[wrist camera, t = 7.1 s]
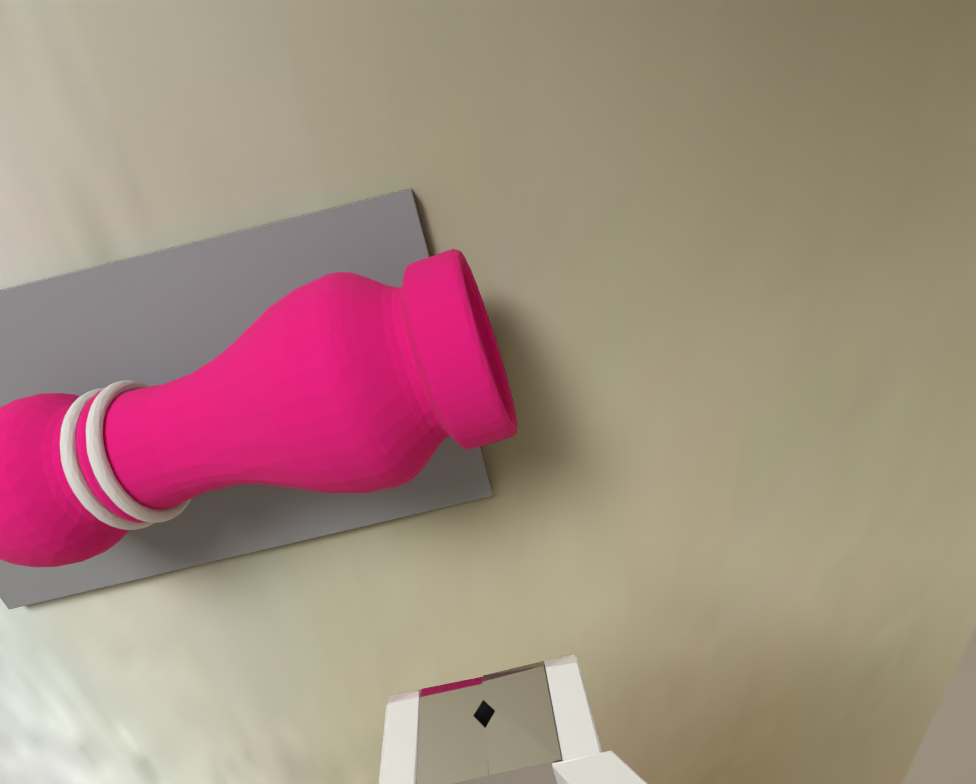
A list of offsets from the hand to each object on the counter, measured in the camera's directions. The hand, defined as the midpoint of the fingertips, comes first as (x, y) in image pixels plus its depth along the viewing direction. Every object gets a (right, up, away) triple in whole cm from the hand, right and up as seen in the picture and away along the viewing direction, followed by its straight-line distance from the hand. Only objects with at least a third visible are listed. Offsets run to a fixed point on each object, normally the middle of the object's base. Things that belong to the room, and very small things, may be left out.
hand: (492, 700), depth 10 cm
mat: (-12, +4, +15) cm, 20 cm away
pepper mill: (0, +7, +10) cm, 12 cm away
